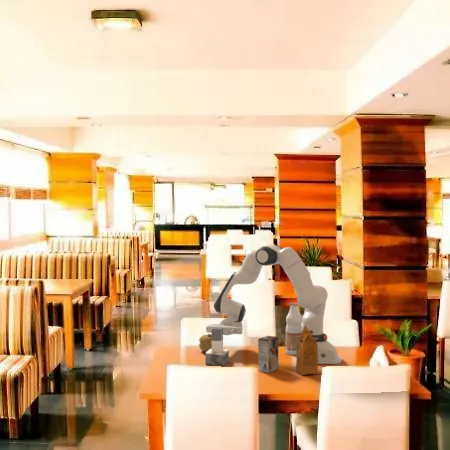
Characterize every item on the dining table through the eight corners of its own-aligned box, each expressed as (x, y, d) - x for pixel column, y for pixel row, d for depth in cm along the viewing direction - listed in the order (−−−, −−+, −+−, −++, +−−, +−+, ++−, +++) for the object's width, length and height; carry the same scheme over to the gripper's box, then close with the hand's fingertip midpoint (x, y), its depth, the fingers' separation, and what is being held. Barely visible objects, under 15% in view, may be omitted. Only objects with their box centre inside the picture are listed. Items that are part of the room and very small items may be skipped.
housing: (223, 350, 294) (223, 327, 294) (220, 352, 290) (220, 329, 289) (213, 349, 296) (213, 327, 295) (211, 352, 291) (211, 329, 290)
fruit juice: (282, 353, 313) (282, 303, 312) (292, 350, 319) (293, 301, 319) (295, 356, 306) (295, 305, 305) (306, 353, 312) (306, 303, 312)
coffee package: (313, 368, 282) (314, 325, 281) (319, 375, 269) (320, 330, 269) (294, 369, 281) (294, 325, 281) (299, 376, 269) (299, 330, 268)
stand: (228, 360, 296) (228, 349, 296) (224, 365, 287) (224, 354, 287) (210, 359, 299) (210, 348, 299) (205, 364, 289) (205, 353, 289)
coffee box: (268, 366, 285) (268, 335, 285) (278, 368, 281) (278, 337, 281) (257, 370, 278) (258, 338, 278) (268, 373, 274) (268, 340, 274)
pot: (223, 350, 318) (223, 333, 318) (212, 355, 308) (212, 337, 308) (206, 347, 324) (206, 330, 324) (194, 352, 315) (194, 334, 314)
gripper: (209, 320, 317) (202, 325, 304) (244, 322, 313) (239, 327, 299) (209, 331, 318) (202, 336, 304) (244, 333, 313) (239, 338, 300)
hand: (221, 332), depth 302 cm, fingers open, 8 cm apart
